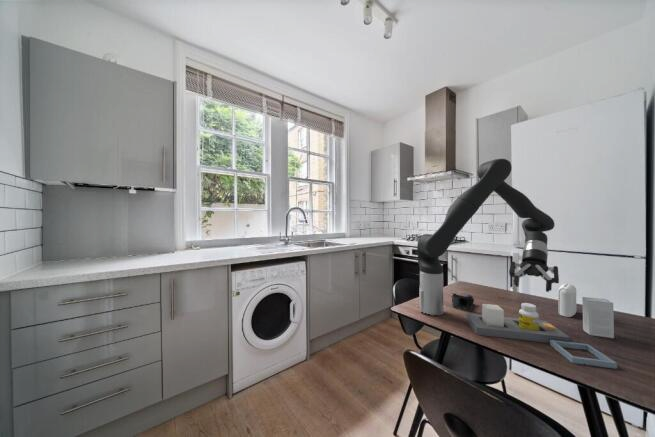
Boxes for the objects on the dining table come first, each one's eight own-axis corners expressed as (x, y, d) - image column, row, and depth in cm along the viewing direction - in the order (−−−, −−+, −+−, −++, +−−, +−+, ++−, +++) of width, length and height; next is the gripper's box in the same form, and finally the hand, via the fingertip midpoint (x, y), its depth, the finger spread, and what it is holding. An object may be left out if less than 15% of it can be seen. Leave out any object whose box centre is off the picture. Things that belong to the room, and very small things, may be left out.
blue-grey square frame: (572, 362, 65) (572, 357, 65) (549, 344, 74) (549, 339, 74) (617, 368, 62) (617, 363, 62) (588, 349, 71) (588, 344, 71)
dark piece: (470, 315, 99) (476, 308, 108) (474, 298, 98) (480, 293, 107) (448, 306, 105) (455, 300, 114) (451, 290, 105) (458, 285, 113)
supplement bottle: (514, 329, 84) (514, 302, 84) (528, 328, 85) (528, 301, 84) (529, 336, 79) (528, 308, 79) (543, 336, 79) (543, 307, 79)
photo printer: (563, 309, 101) (563, 281, 101) (577, 312, 98) (577, 283, 98) (556, 314, 96) (556, 285, 96) (571, 318, 92) (571, 287, 92)
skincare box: (605, 333, 81) (605, 298, 81) (614, 338, 77) (614, 302, 77) (581, 329, 83) (581, 296, 83) (589, 335, 79) (589, 300, 79)
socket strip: (476, 334, 81) (476, 311, 81) (466, 319, 92) (466, 299, 92) (569, 345, 73) (569, 320, 73) (546, 327, 85) (546, 305, 85)
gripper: (511, 246, 98) (506, 278, 90) (559, 249, 88) (558, 286, 80) (513, 257, 102) (509, 289, 94) (559, 261, 91) (558, 298, 84)
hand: (531, 288), depth 87 cm, fingers open, 8 cm apart
